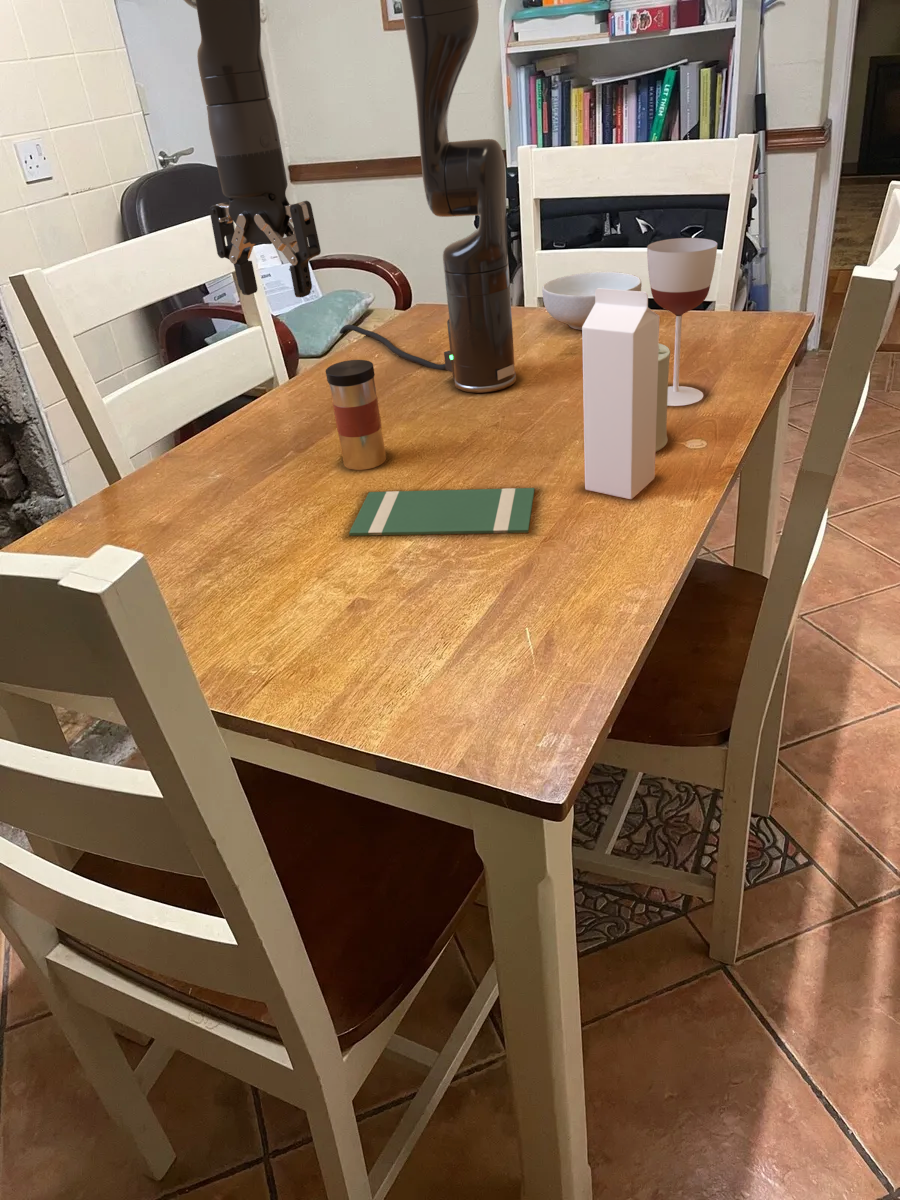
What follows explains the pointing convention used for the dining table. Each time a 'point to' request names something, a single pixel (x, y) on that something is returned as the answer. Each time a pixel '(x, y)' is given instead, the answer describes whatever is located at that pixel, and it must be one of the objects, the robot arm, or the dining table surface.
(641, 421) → the milk
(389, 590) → the dining table surface
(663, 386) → the can
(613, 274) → the cereal bowl
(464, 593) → the dining table surface
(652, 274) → the wineglass
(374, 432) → the jar
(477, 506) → the towel
